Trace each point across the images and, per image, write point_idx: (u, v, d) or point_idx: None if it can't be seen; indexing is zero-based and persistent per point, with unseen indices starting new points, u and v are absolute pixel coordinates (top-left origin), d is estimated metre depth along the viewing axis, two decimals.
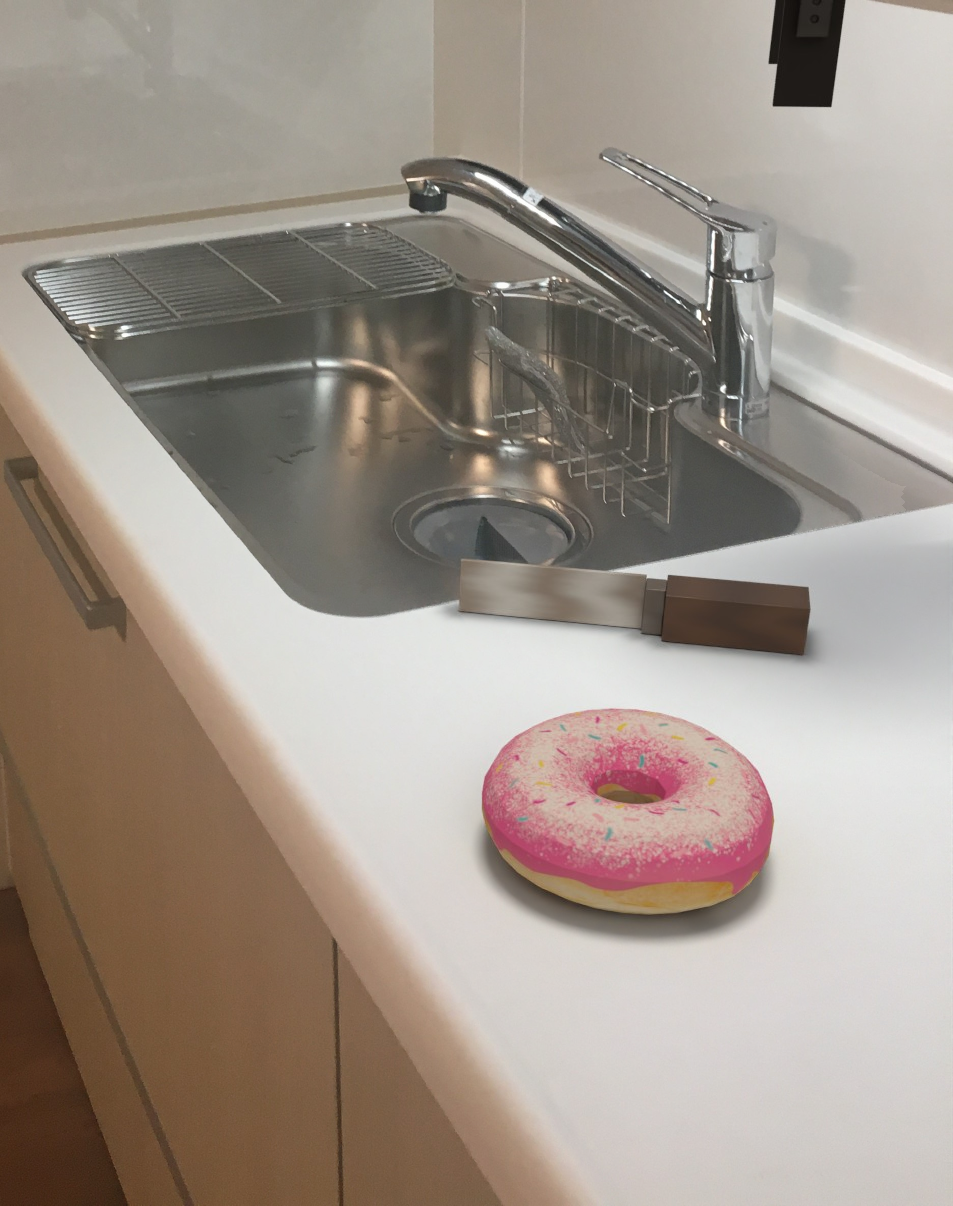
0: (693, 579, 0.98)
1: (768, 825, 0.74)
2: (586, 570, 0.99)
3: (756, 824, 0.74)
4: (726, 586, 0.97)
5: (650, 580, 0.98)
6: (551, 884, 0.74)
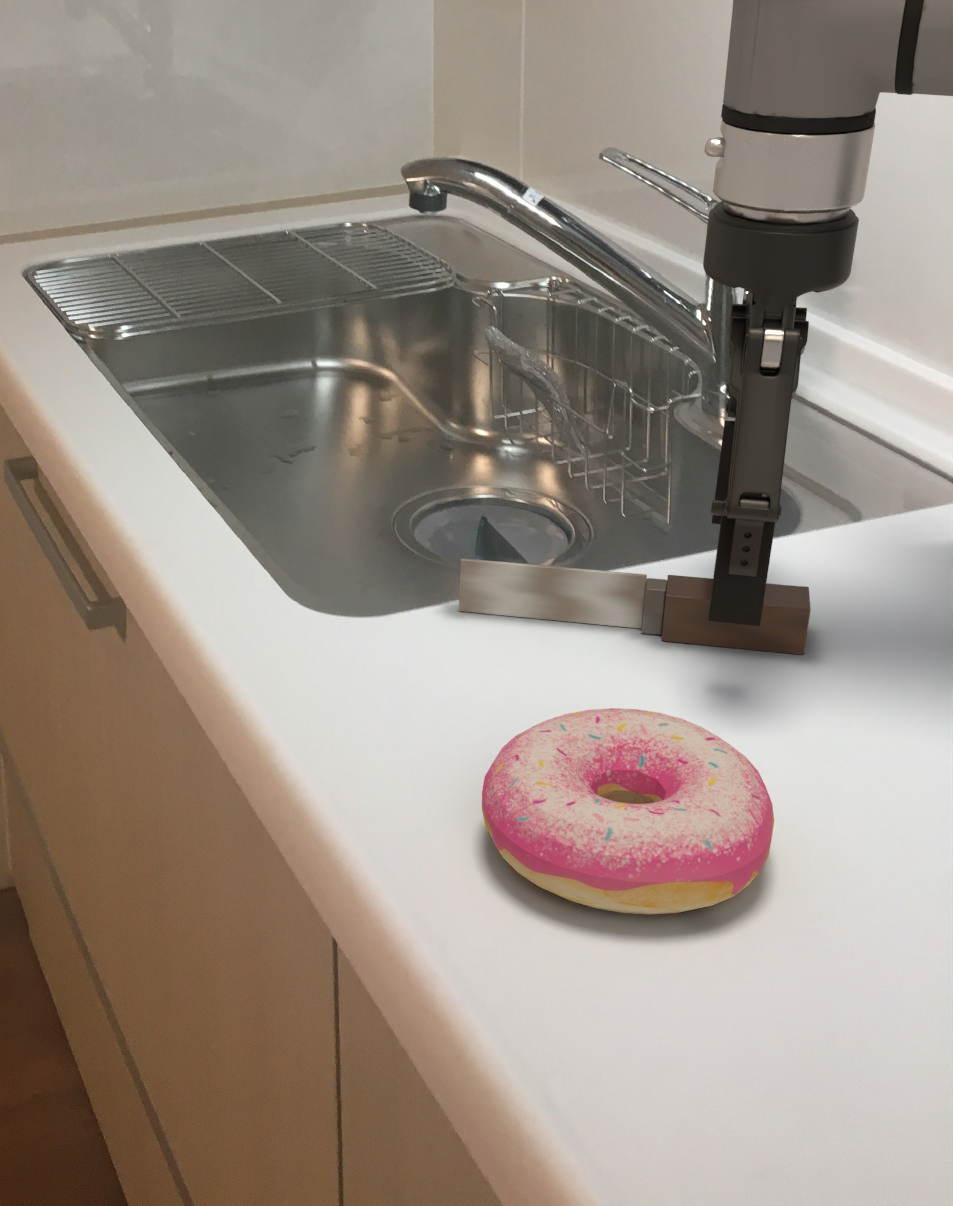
0: (693, 579, 0.98)
1: (768, 825, 0.74)
2: (586, 570, 0.99)
3: (756, 824, 0.74)
4: None
5: (650, 580, 0.98)
6: (551, 884, 0.74)
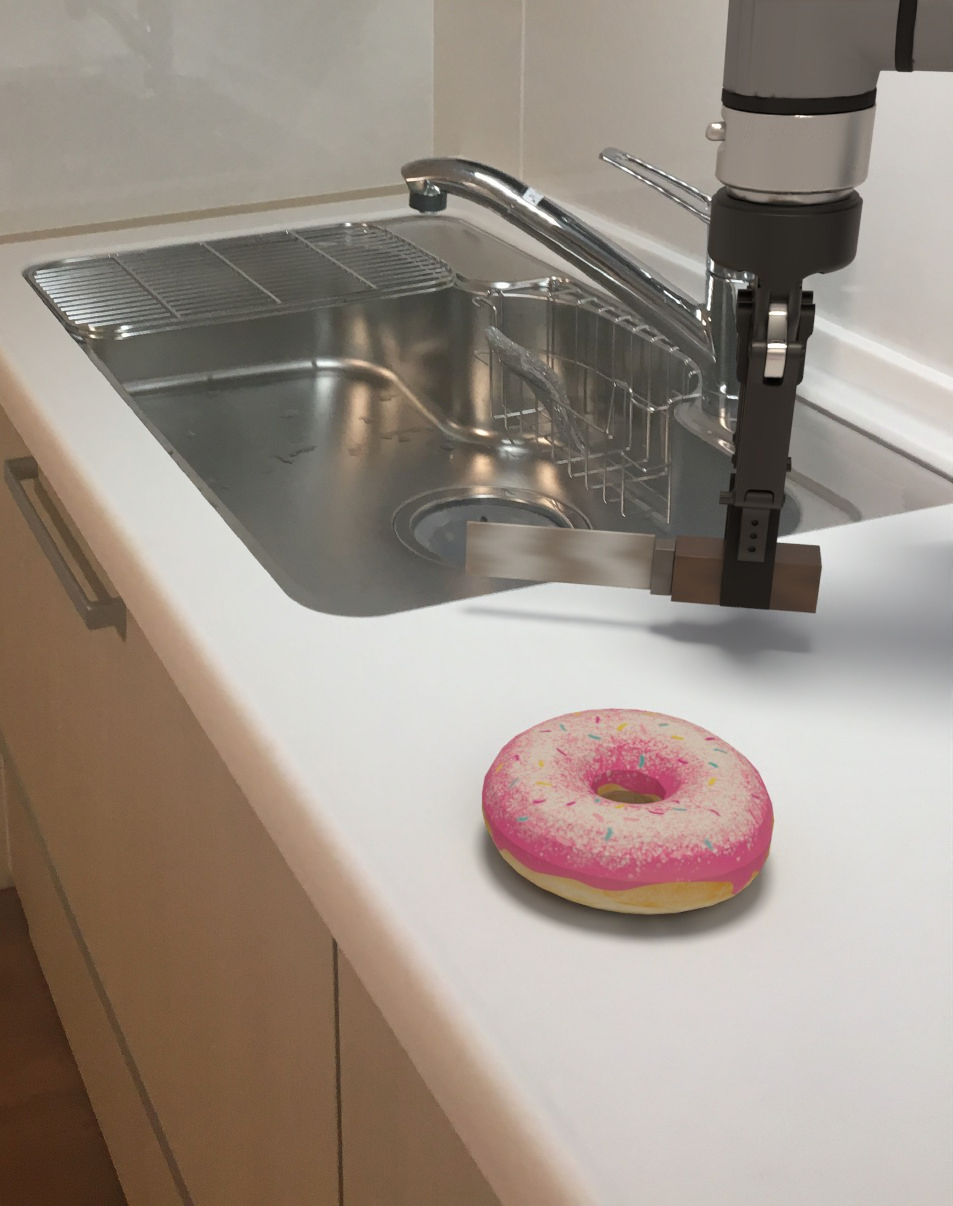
0: (702, 539, 0.97)
1: (768, 825, 0.74)
2: (594, 531, 0.98)
3: (756, 824, 0.74)
4: None
5: (658, 540, 0.97)
6: (551, 884, 0.74)
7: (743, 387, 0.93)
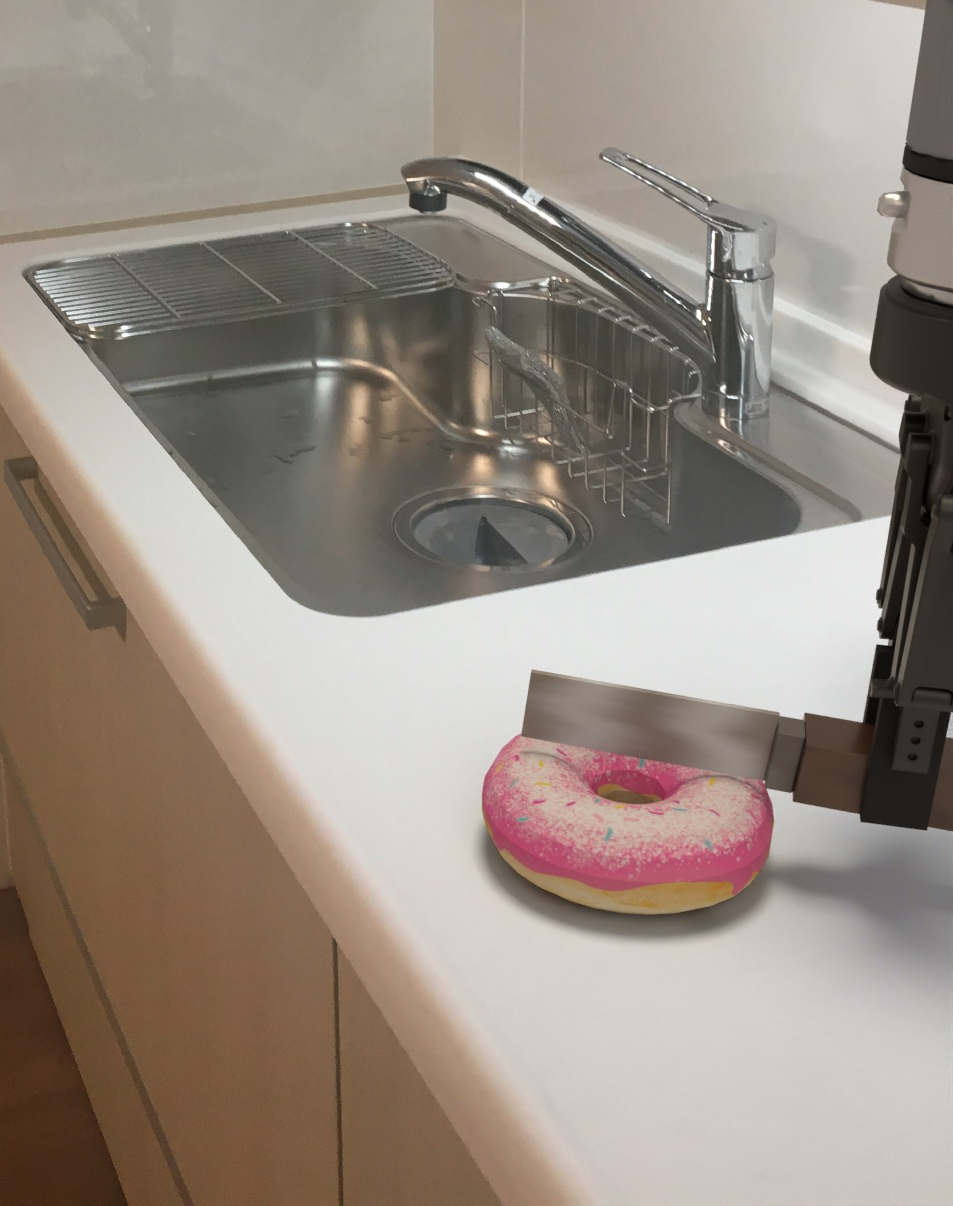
0: (839, 722, 0.74)
1: (768, 825, 0.74)
2: (698, 699, 0.74)
3: (756, 824, 0.74)
4: None
5: (782, 720, 0.74)
6: (551, 884, 0.74)
7: (903, 538, 0.70)
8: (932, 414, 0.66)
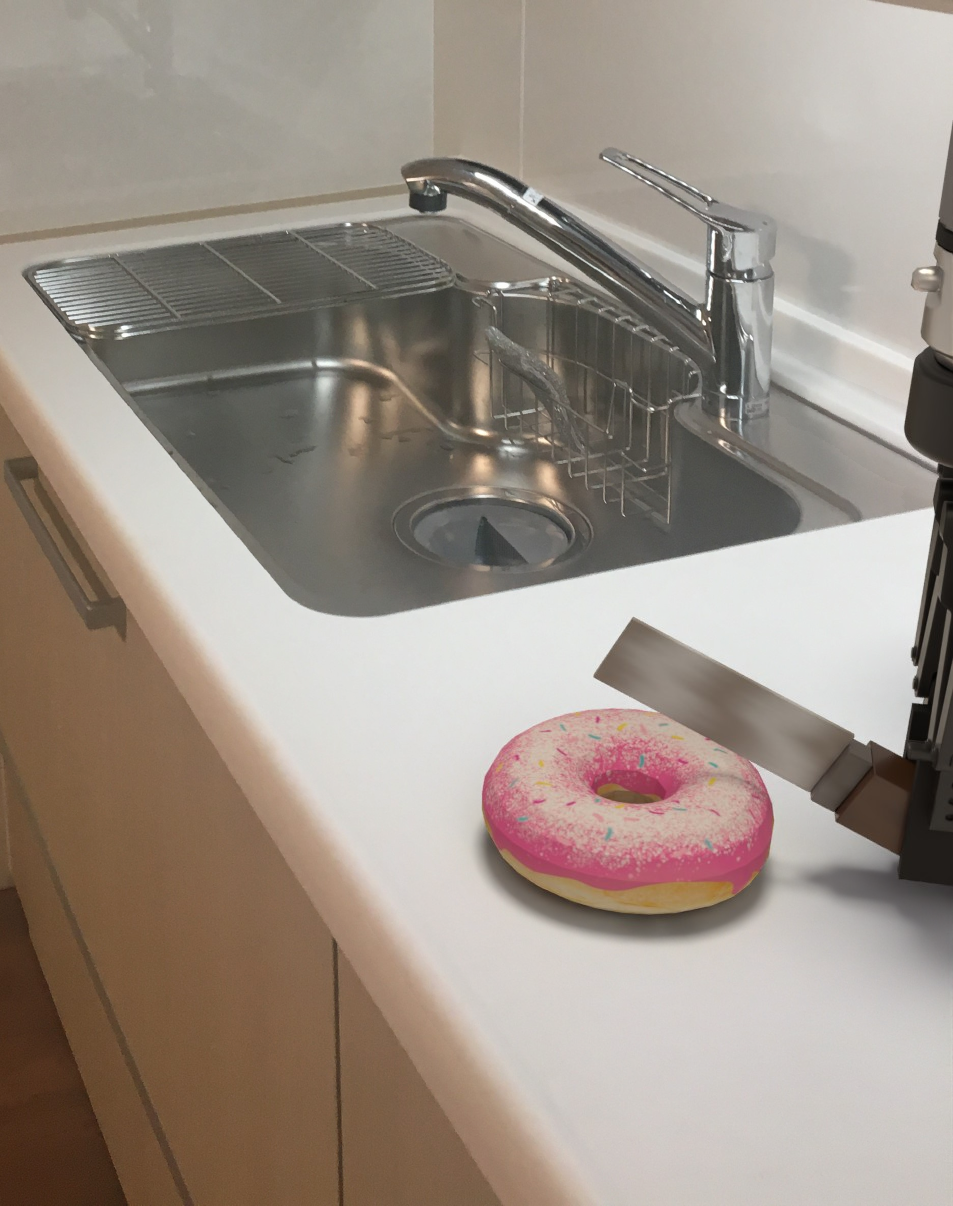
0: (901, 760, 0.74)
1: (768, 825, 0.74)
2: (782, 697, 0.73)
3: (756, 824, 0.74)
4: None
5: (852, 741, 0.74)
6: (551, 884, 0.74)
7: (938, 601, 0.71)
8: None
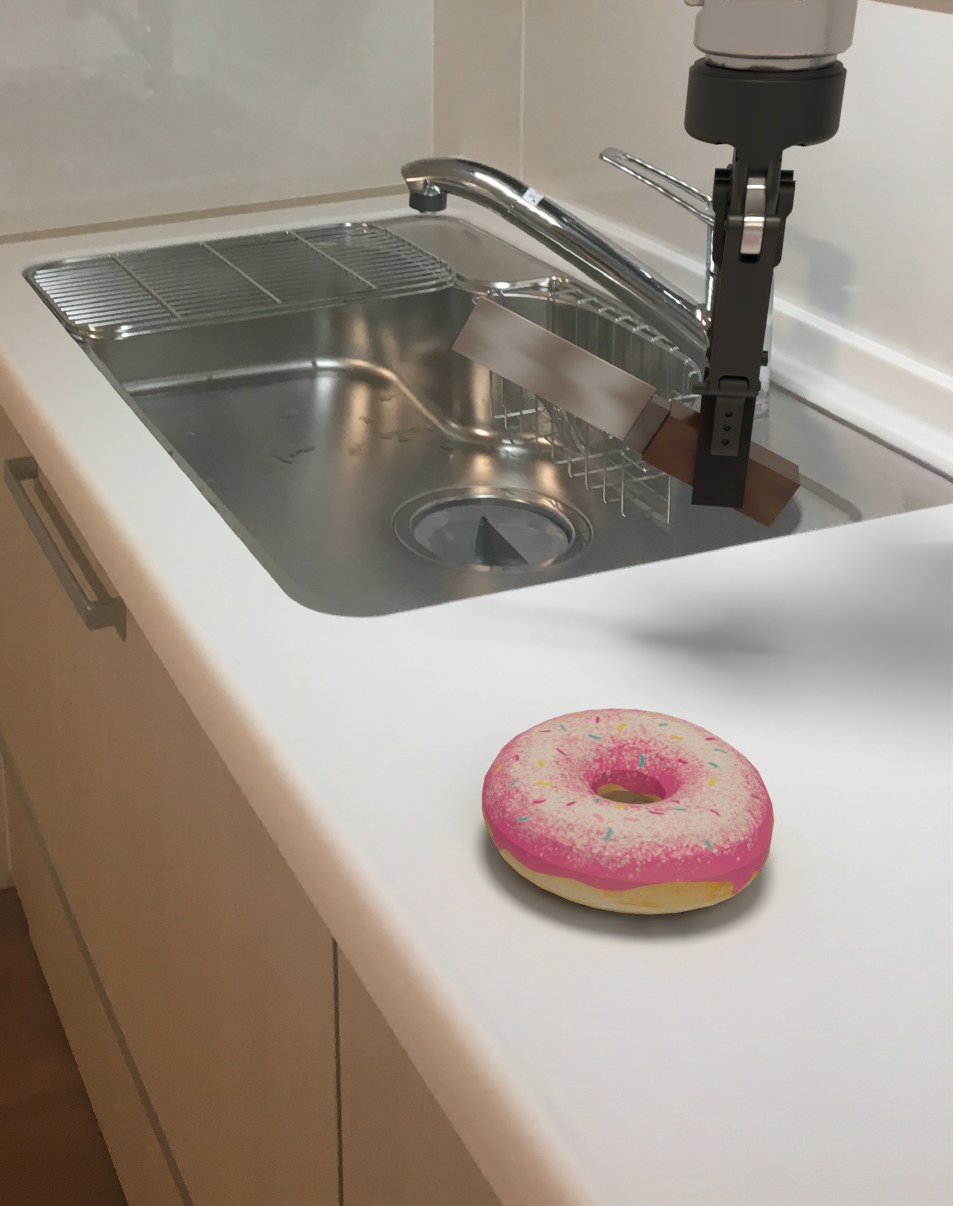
0: (695, 412, 0.92)
1: (768, 825, 0.74)
2: (600, 359, 0.92)
3: (756, 824, 0.74)
4: None
5: (655, 396, 0.92)
6: (551, 884, 0.74)
7: (719, 274, 0.89)
8: (733, 165, 0.85)
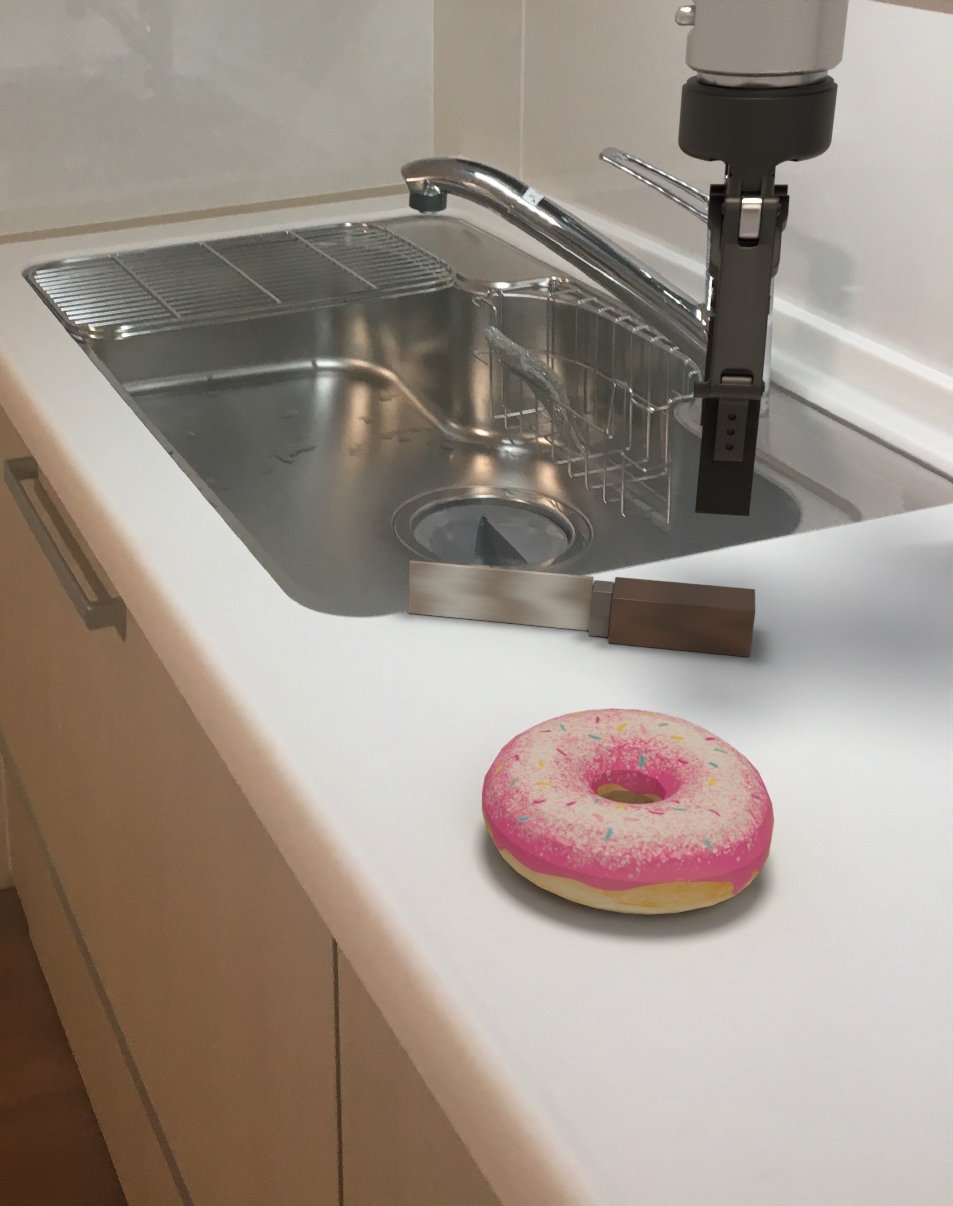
0: (640, 581, 0.98)
1: (768, 825, 0.74)
2: (534, 572, 0.99)
3: (756, 824, 0.74)
4: (673, 588, 0.97)
5: (597, 582, 0.98)
6: (551, 884, 0.74)
7: None
8: None
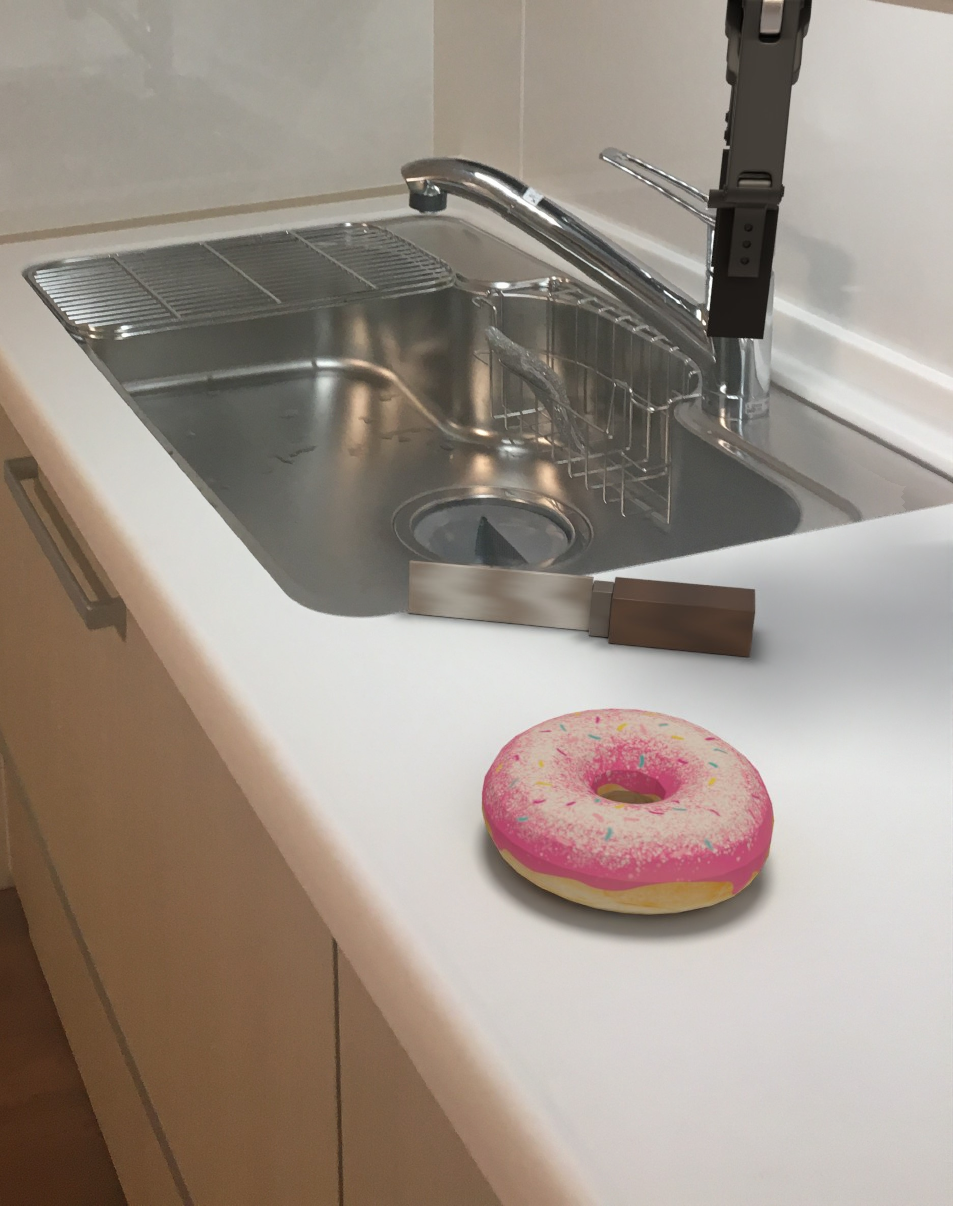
0: (640, 581, 0.98)
1: (768, 825, 0.74)
2: (534, 572, 0.99)
3: (756, 824, 0.74)
4: (672, 588, 0.97)
5: (597, 582, 0.98)
6: (551, 884, 0.74)
7: None
8: None
